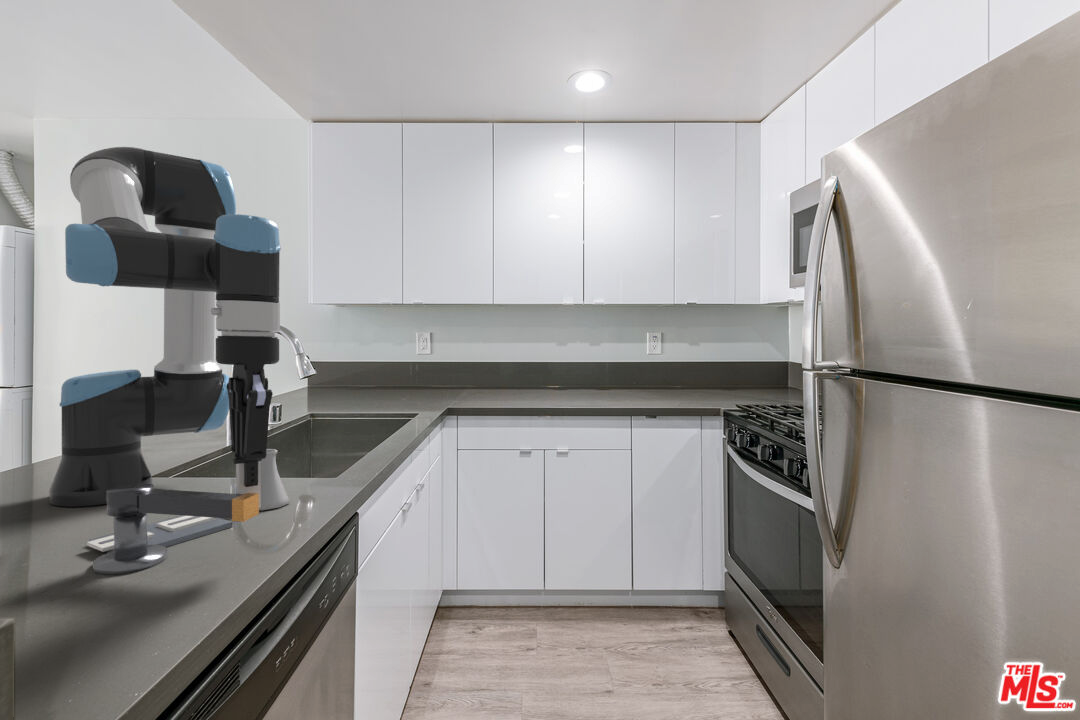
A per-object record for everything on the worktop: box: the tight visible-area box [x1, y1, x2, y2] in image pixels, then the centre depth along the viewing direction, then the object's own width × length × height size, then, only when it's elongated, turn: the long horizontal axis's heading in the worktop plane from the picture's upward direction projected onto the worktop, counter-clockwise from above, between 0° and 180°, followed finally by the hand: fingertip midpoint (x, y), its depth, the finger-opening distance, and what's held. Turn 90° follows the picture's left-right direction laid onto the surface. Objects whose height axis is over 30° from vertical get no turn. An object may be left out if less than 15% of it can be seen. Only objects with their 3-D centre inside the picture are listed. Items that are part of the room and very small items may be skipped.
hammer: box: [106, 483, 260, 523], centre depth 72 cm, size 20×5×3 cm, turn 82°
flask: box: [259, 448, 291, 511], centre depth 98 cm, size 7×7×10 cm
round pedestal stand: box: [92, 513, 168, 576], centre depth 73 cm, size 8×8×6 cm
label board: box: [86, 515, 233, 553], centre depth 82 cm, size 10×16×1 cm, turn 152°
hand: (248, 507), depth 74 cm, fingers closed
